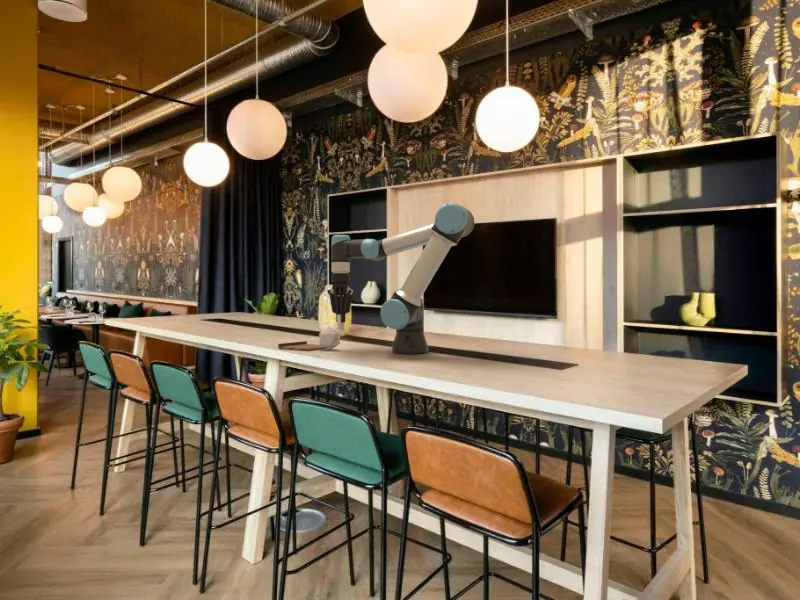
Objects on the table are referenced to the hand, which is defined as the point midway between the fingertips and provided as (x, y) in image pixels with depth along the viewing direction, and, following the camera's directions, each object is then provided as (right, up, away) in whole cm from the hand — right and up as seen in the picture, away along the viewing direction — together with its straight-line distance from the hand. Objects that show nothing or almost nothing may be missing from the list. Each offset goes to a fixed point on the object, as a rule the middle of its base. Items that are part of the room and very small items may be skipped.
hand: (340, 330), depth 222 cm
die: (-5, -9, +4) cm, 11 cm away
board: (-16, -9, +12) cm, 22 cm away
